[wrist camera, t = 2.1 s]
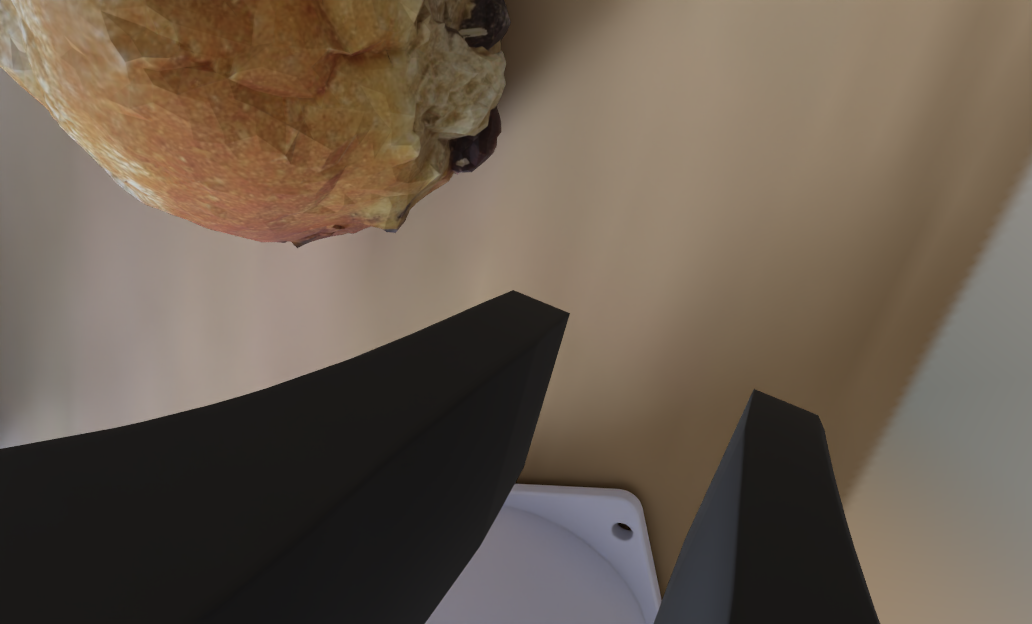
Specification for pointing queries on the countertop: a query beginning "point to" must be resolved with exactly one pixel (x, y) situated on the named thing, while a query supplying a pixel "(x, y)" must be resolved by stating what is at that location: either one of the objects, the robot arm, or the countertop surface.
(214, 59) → the bread roll
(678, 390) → the countertop surface
